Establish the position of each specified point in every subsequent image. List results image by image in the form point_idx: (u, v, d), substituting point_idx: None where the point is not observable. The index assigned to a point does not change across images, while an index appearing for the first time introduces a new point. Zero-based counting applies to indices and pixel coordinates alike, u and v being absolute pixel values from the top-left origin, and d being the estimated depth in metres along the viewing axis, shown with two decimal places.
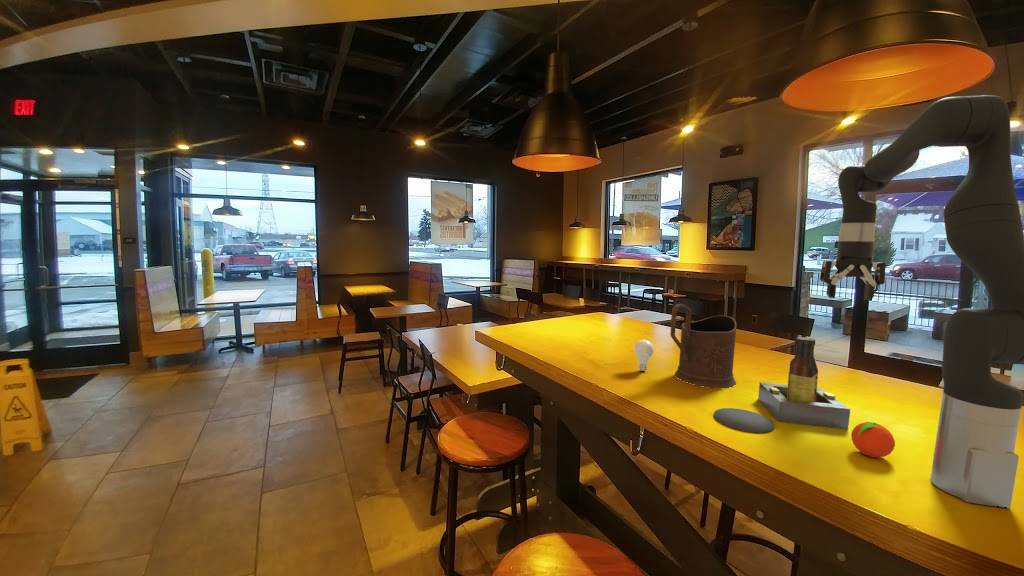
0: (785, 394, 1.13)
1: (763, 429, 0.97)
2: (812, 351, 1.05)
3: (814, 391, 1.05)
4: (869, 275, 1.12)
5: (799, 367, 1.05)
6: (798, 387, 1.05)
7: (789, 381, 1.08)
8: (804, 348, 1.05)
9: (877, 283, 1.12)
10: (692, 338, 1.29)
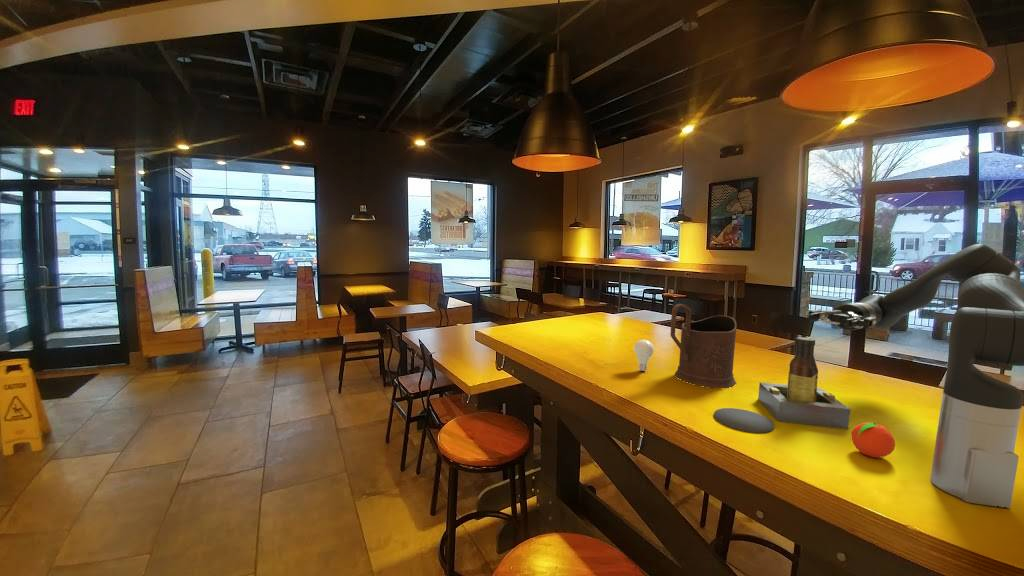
0: (785, 394, 1.13)
1: (763, 429, 0.97)
2: (812, 351, 1.05)
3: (814, 391, 1.05)
4: (854, 314, 1.12)
5: (799, 367, 1.05)
6: (798, 387, 1.05)
7: (789, 381, 1.08)
8: (804, 348, 1.05)
9: (862, 320, 1.09)
10: (692, 338, 1.29)
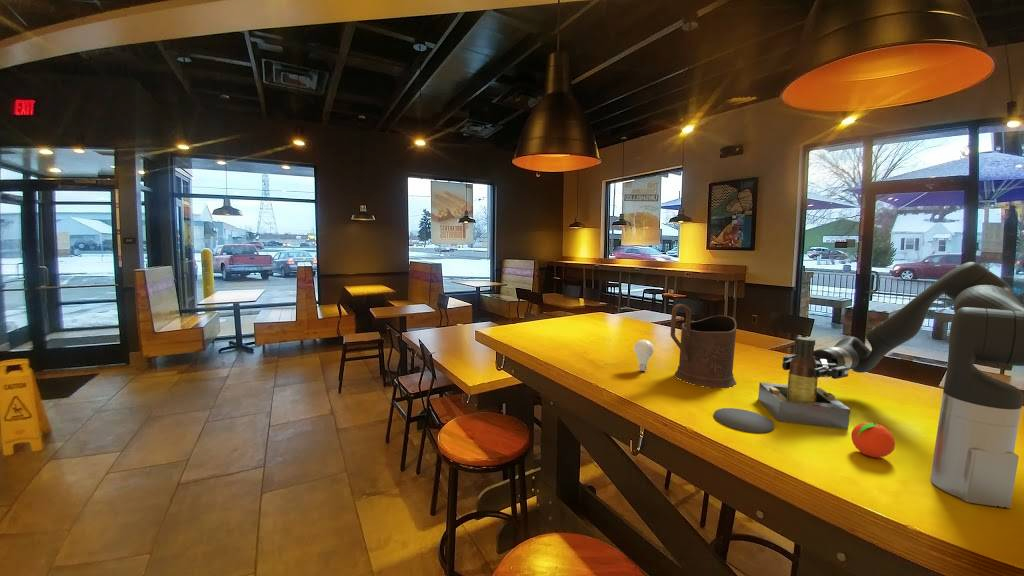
0: (785, 394, 1.13)
1: (763, 429, 0.97)
2: (812, 351, 1.05)
3: (814, 391, 1.05)
4: (825, 362, 1.07)
5: (799, 367, 1.05)
6: (798, 387, 1.05)
7: (789, 381, 1.08)
8: (804, 348, 1.05)
9: (831, 370, 1.04)
10: (692, 338, 1.29)
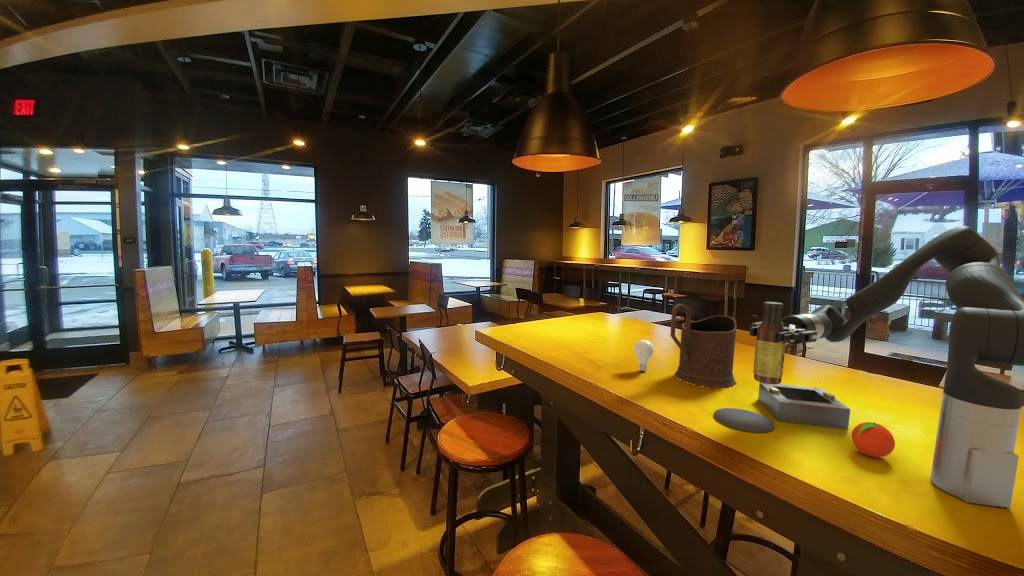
0: (785, 394, 1.13)
1: (763, 429, 0.97)
2: (779, 315, 1.00)
3: (781, 357, 1.00)
4: (793, 327, 1.02)
5: (766, 332, 1.00)
6: (765, 353, 1.01)
7: (756, 347, 1.03)
8: (771, 313, 1.00)
9: (797, 334, 0.99)
10: (692, 338, 1.29)
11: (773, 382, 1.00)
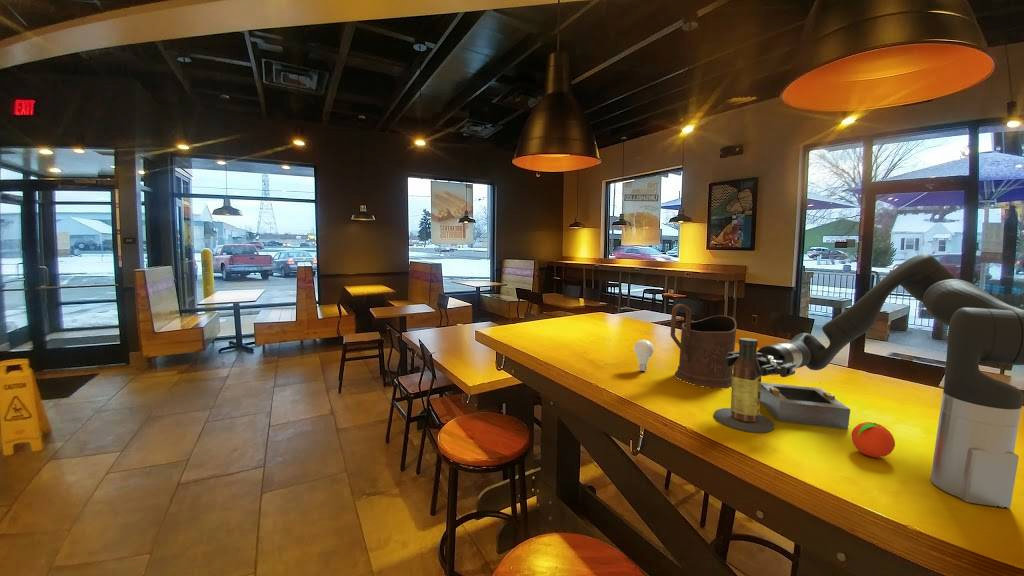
0: (785, 394, 1.13)
1: (763, 429, 0.97)
2: (754, 352, 1.00)
3: (757, 394, 0.99)
4: (773, 359, 1.00)
5: (741, 369, 1.00)
6: (741, 390, 1.00)
7: (732, 384, 1.02)
8: (746, 349, 1.00)
9: (779, 367, 0.97)
10: (692, 338, 1.29)
11: (750, 420, 0.99)
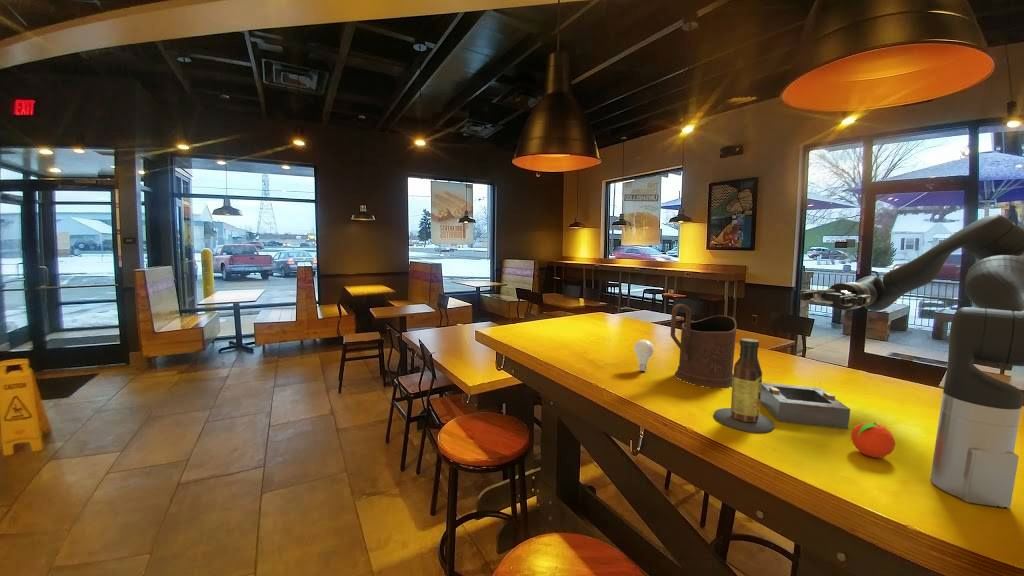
0: (785, 394, 1.13)
1: (763, 429, 0.97)
2: (755, 353, 0.99)
3: (758, 395, 0.99)
4: (848, 292, 1.08)
5: (742, 370, 0.99)
6: (741, 391, 1.00)
7: (733, 385, 1.02)
8: (747, 350, 1.00)
9: (856, 298, 1.05)
10: (692, 338, 1.29)
11: (750, 420, 0.99)
